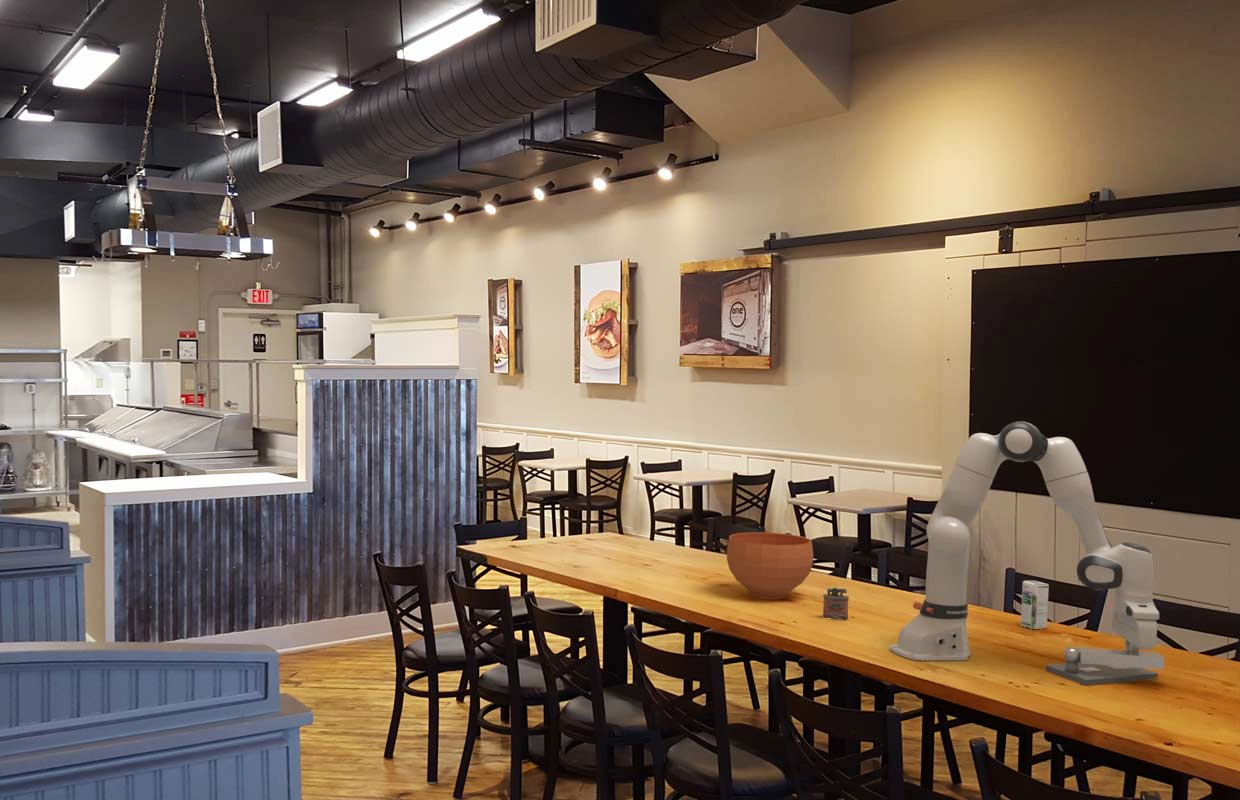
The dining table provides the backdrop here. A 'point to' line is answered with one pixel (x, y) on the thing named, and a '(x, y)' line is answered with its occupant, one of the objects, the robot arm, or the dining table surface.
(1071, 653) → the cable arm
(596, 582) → the dining table surface
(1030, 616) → the syrup box
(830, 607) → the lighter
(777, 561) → the bowl
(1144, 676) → the grey pivot base plate
